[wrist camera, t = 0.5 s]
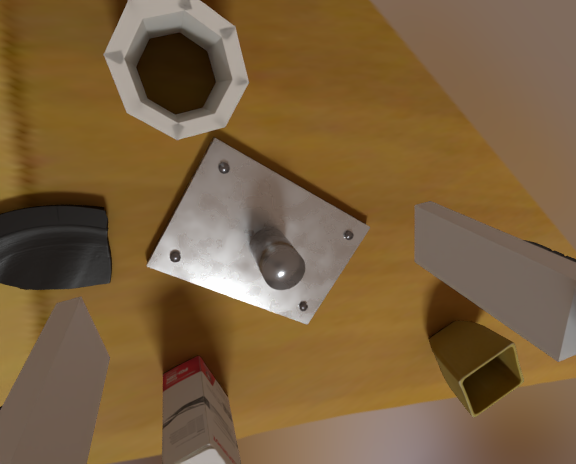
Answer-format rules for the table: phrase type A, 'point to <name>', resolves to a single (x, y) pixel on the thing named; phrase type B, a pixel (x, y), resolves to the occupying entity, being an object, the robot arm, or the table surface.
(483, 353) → the flower pot
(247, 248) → the duct plate
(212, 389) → the ink box
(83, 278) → the curved wedge
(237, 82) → the octagonal hollow tube
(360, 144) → the table surface
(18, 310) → the table surface
